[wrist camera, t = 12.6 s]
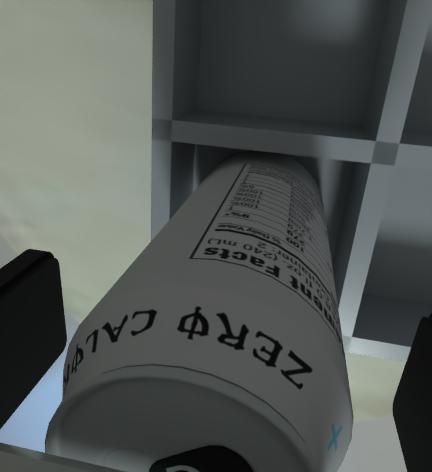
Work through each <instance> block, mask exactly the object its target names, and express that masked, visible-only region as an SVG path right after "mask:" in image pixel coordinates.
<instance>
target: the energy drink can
mask: <svg viewBox="0 0 432 472" xmlns="http://www.w3.org/2000/svg"><path fill="white" fill-rule="evenodd" d="M352 426H353V410H352V403H351V396H350V389H349V381H348V374H347V367H346V360H345V353H344V346H343V339H342V332H341V325H340V318H339V311H338V304H337V297H336V290H335V282H334V275H333V268H332V261H331V254H330V247H329V240H328V233H327V226H326V219H325V212H324V205H323V199H322V195H321V192H320V190H319V187H318V185H317V183H316V181H315V180H314V179H313V177H312V176H311V174H310V173H309V172H308V171H307V170H306V169H305V168H304V167H303V166H302V165H301V164H300V163H298V162H296V161H295V160H293V159H292V158H290V157H288V156H285V155H283V154H280V153H272V152H263V151H254V150H250V151H246V152H241V153H238V154H235V155H233V156H231V157H229V158H227V159H225V160H224V161H222V162H221V163H220V164H218V165H217V166H216V167H215V168H214V169H213V170H212V171H211V172H210V173H209V174H208V176H207V177H206V178H205V179H204V180H203V181H202V183H201V184H200V185H199V186H198V187H197V188H196V190H195V191H194V192H193V193H192V194H191V196H190V197H189V198H188V199H187V200H186V201H185V203H184V204H183V205H182V206H181V207H180V208H179V210H178V211H177V212H176V213H175V214H174V215H173V217H172V218H171V219H170V220H169V221H168V222H167V224H166V225H165V226H164V227H163V228H162V229H161V231H160V232H159V233H158V234H157V235H156V236H155V238H154V239H153V240H152V241H151V242H150V243H149V245H148V246H147V247H146V248H145V249H144V250H143V252H142V253H141V254H140V255H139V256H138V257H137V259H136V260H135V261H134V262H133V263H132V264H131V266H130V267H129V268H128V269H127V270H126V271H125V273H124V274H123V275H122V276H121V277H120V278H119V280H118V281H117V282H116V283H115V284H114V285H113V287H112V288H111V289H110V290H109V291H108V292H107V294H106V295H105V296H104V297H103V298H102V299H101V301H100V302H99V303H98V304H97V305H96V306H95V308H94V309H93V310H92V311H91V312H90V313H89V315H88V316H87V317H86V318H85V319H84V320H83V322H82V323H81V324H80V325H79V327H78V329H77V331H76V333H75V334H74V336H73V338H72V340H71V342H70V344H69V347H68V351H67V356H66V360H65V364H64V370H63V399H62V402H61V404H60V405H59V407H58V408H57V410H56V412H55V414H54V415H53V417H52V419H51V421H50V422H49V426H48V430H47V434H46V439H45V453H48V454H52V455H56V456H61V457H65V458H70V459H74V460H78V461H83V462H87V463H91V464H95V465H100V466H104V467H108V468H113V469H117V470H121V471H126V472H337V471H338V469H339V467H340V466H341V464H342V462H343V460H344V457H345V454H346V452H347V449H348V446H349V444H350V441H351V437H352Z"/></svg>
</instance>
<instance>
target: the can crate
mask: <svg viewBox="0 0 432 472" xmlns="http://www.w3.org/2000/svg"><path fill="white" fill-rule="evenodd" d="M250 150H254V151H263V152H272V153H280V154H283V155H285V156H288V157H290V158H292V159H293V160H295V161H296V162H298V163H300V164H301V165H302V166H303V167H304V168H305V169H306V170H307V171H308V172H309V173H310V174H311V176H312V177H313V179H314V180H315V181H316V183H317V185H318V187H319V190H320V192H321V195H322V199H323V205H324V212H325V219H326V226H327V233H328V240H329V247H330V254H331V261H332V268H333V275H334V282H335V290H336V297H337V304H338V311H339V318H340V325H341V332H342V339H343V346H344V351H346V352H352V353H357V354H363V355H369V356H374V357H380V358H385V359H391V360H397V361H402V362H406V361H407V358H408V355H409V352H410V349H411V346H412V343H413V340H414V337H415V334H416V331H417V328H418V325H419V322H420V320H421V318H422V317H429V315H430V314H431V313H432V0H153V70H152V184H151V241H152V240H153V239H154V238H155V236H156V235H157V234H158V233H159V232H160V231H161V229H162V228H163V227H164V226H165V225H166V224H167V222H168V221H169V220H170V219H171V218H172V217H173V215H174V214H175V213H176V212H177V211H178V210H179V208H180V207H181V206H182V205H183V204H184V203H185V201H186V200H187V199H188V198H189V197H190V196H191V194H192V193H193V192H194V191H195V190H196V188H197V187H198V186H199V185H200V184H201V183H202V181H203V180H204V179H205V178H206V177H207V176H208V174H209V173H210V172H211V171H212V170H213V169H214V168H215V167H216V166H217V165H218V164H220V163H221V162H222V161H224V160H225V159H227V158H229V157H231V156H233V155H235V154H238V153H241V152H246V151H250Z"/></svg>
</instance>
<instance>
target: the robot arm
mask: <svg viewBox="0 0 432 472" xmlns="http://www.w3.org/2000/svg"><path fill="white" fill-rule="evenodd" d="M66 342H67V335H66V325H65V316H64V306H63V297H62V287H61V278H60V268H59V262H58V260H57V259H56V258H54V256H53V254H52V253H51V252H47V251H40V250H34V249H28V250H26V251H25V252H23V253H22V254H20V255H19V256H18V257H16V258H15V259H14V260H12V261H10V262H9V263H8V264H6V265H5V266H3V267H2V268H1V269H0V429H1V428H2V426H3V425H4V424H5V423H6V422H7V420H8V419H9V418H10V416H11V415H12V414H13V413H14V412H15V410H16V409H17V408H18V407H19V405H20V404H21V403H22V402H23V400H24V399H25V398H26V397H27V395H28V394H29V393H30V392H31V391H32V389H33V388H34V387H35V386H36V384H37V383H38V382H39V381H40V379H41V378H42V377H43V376H44V374H45V373H46V372H47V371H48V369H49V368H50V367H51V366H52V365H53V363H54V362H55V360H57V358H58V357H59V356H60V355H61V353H62V352H63V350H64V348H65V346H66ZM393 417H394V421H395V425H396V429H397V433H398V436H399V440H400V444H401V448H402V452H403V456H404V460H405V464H406V468H407V472H432V313H431V314H430V315H429V317H422V318H421V320H420V322H419V325H418V328H417V331H416V334H415V337H414V340H413V343H412V346H411V349H410V352H409V355H408V358H407V361H406V365H405V368H404V371H403V374H402V377H401V380H400V383H399V386H398V389H397V392H396V395H395V398H394V401H393ZM0 472H126V471H121V470H117V469H113V468H108V467H104V466H100V465H95V464H91V463H87V462H83V461H78V460H74V459H70V458H65V457H61V456H56V455H52V454H48V453H43V452H39V451H34V450H30V449H26V448H21V447H17V446H12V445H8V444H4V443H0Z"/></svg>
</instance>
